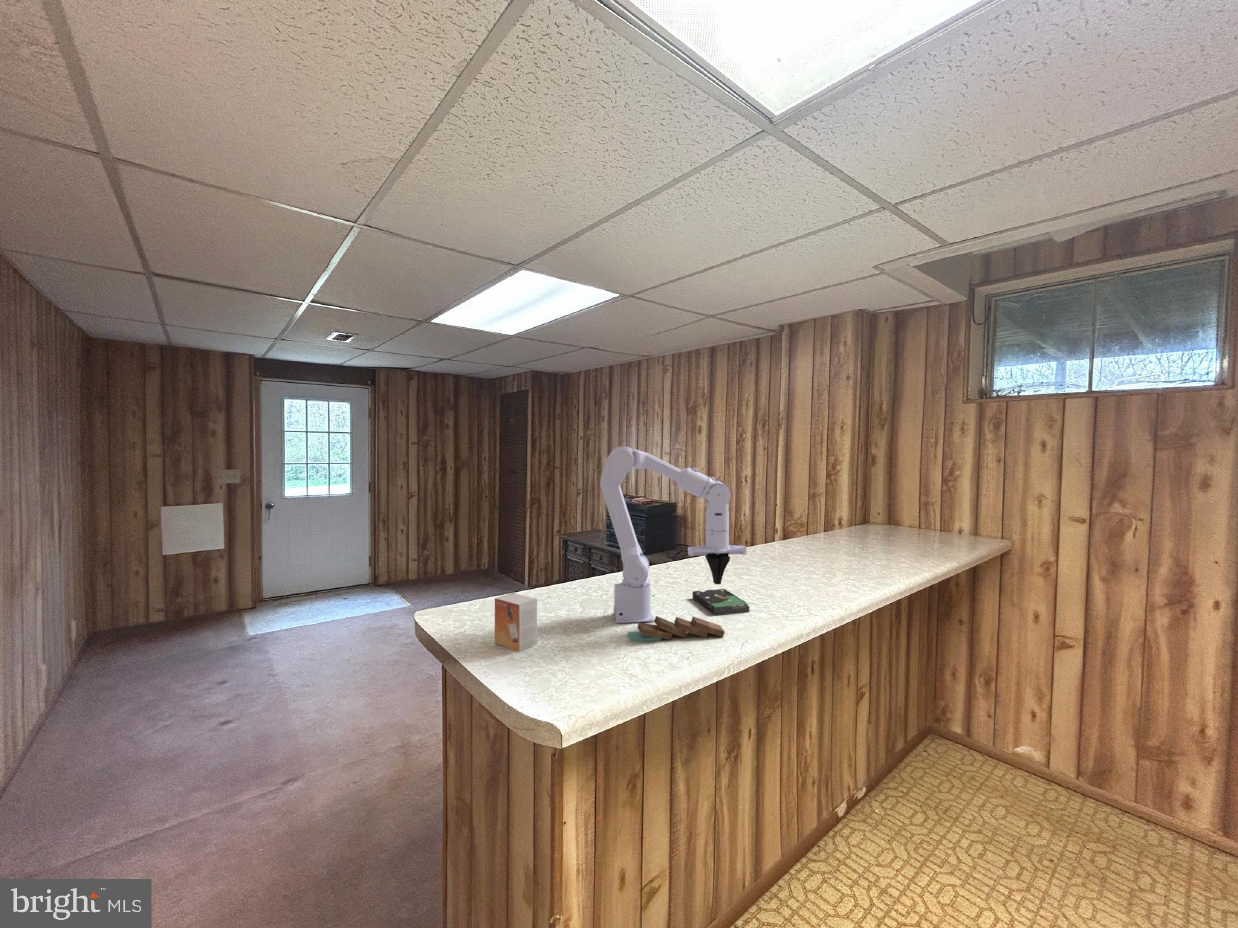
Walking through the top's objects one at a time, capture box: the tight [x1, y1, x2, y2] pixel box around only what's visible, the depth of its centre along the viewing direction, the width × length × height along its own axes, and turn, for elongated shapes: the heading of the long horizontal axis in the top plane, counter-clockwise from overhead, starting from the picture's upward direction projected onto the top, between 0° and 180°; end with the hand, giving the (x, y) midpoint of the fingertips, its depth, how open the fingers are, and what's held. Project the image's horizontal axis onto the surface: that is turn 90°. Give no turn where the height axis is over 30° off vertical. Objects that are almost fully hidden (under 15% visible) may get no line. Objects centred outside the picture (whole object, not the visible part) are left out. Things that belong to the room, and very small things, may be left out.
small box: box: [494, 592, 538, 653], centre depth 111 cm, size 8×6×10 cm
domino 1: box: [636, 622, 673, 641], centre depth 114 cm, size 1×4×7 cm
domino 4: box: [690, 616, 726, 638], centre depth 116 cm, size 1×4×7 cm
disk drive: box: [692, 588, 750, 616], centre depth 137 cm, size 10×3×15 cm
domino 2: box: [653, 615, 688, 639], centre depth 115 cm, size 1×4×7 cm
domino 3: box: [673, 616, 708, 639], centre depth 116 cm, size 1×4×7 cm
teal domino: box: [628, 630, 663, 643], centre depth 115 cm, size 1×4×7 cm
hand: (717, 583), depth 125 cm, fingers closed
